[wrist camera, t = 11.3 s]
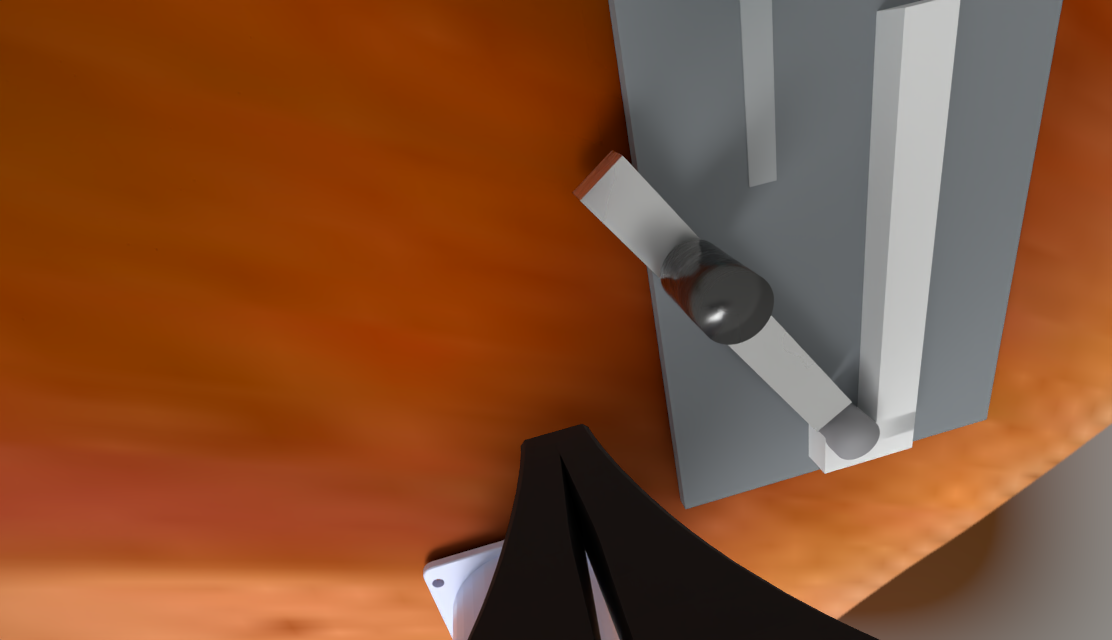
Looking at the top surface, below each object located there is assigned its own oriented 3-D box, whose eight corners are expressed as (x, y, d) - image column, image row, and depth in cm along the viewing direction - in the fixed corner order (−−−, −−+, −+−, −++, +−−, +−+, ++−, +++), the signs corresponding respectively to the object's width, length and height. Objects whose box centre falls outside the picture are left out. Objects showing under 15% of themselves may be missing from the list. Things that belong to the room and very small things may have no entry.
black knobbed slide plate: (837, 383, 23) (917, 448, 19) (796, 418, 23) (866, 489, 19) (616, 145, 17) (665, 168, 13) (568, 197, 18) (601, 234, 14)
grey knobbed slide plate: (975, 412, 26) (1022, 442, 24) (680, 500, 25) (701, 539, 23) (1096, -303, 15) (1202, -363, 13) (580, -195, 14) (603, -241, 12)
